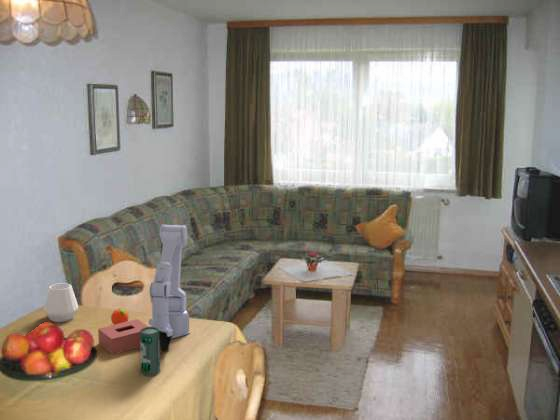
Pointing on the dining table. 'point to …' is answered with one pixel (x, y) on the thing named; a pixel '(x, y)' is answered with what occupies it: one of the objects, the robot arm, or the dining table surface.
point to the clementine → (119, 316)
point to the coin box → (121, 336)
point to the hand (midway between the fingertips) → (161, 348)
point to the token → (161, 350)
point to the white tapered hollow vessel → (60, 302)
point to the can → (150, 351)
